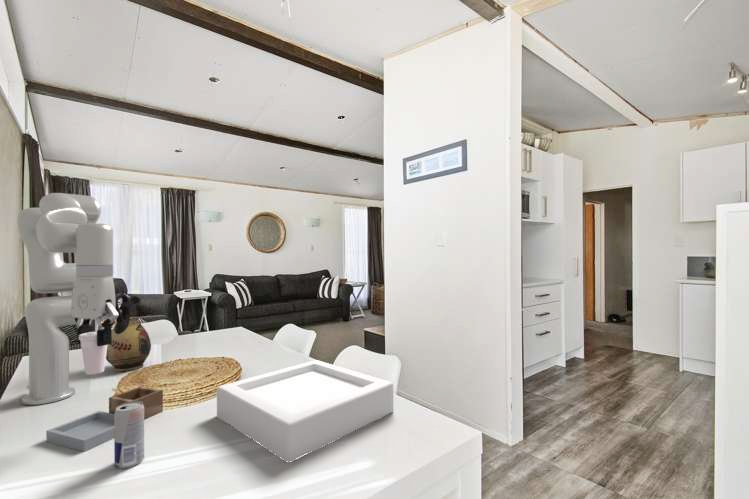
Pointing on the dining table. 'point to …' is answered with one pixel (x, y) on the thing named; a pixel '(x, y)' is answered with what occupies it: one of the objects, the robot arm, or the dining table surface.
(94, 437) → the slate tray
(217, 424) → the dining table surface
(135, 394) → the deep holder
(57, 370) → the robot arm
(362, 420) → the tray
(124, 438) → the energy drink
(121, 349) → the ceramic jug
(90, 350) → the smoothie
